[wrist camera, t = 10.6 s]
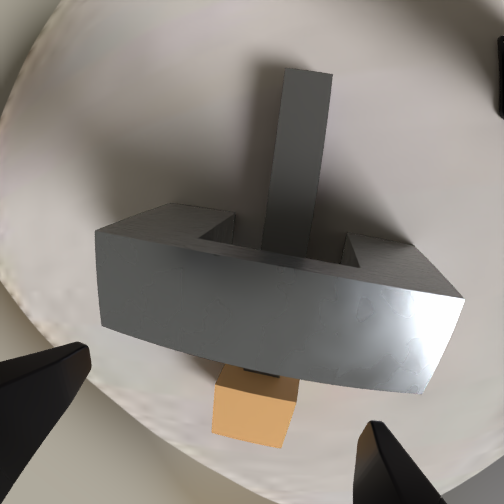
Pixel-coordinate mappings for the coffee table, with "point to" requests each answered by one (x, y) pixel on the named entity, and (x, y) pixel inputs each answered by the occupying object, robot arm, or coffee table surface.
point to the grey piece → (276, 301)
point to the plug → (284, 242)
